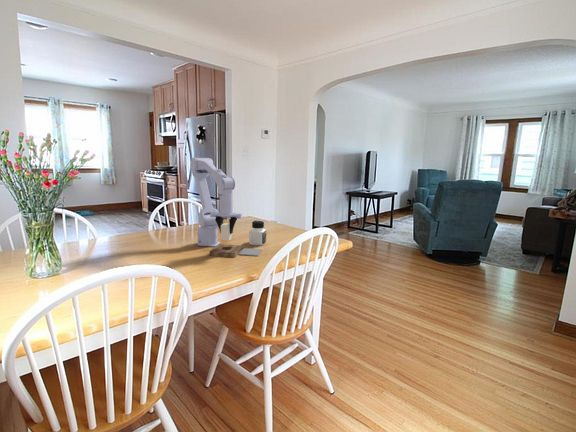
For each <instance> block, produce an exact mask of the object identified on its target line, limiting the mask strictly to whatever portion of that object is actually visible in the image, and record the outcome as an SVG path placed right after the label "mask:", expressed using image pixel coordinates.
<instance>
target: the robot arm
mask: <svg viewBox="0 0 576 432" xmlns="http://www.w3.org/2000/svg"><path fill="white" fill-rule="evenodd" d="M189 164H190V165H189V166H190V170H191V174H192V177H194V178H195V182H196V186H197V191H198V196H199V199H200V204H201V208H202V209H201V210H200V211H199V212H198V224H199V227H198V229H197V244H196V245H197V246H200V247H212V248H214V247H215V246H217V245H218V244H221V241H218V240H219V239H218V235H219V234H218V233H220V234H221V225H222V224H223V223H224V218H225V219H228V222H229V223H228V224H230V234H232V235H233V233H234V228H235V224H236V223H237V221H238V219H240V220H242V219H243V213H236V212H233V206H234V205H233V190H234V189H235V186H236V182H235V179H234V178H233V177H232V176H227V175H226V174H225V172H223V170H222V169H221V168H220V169H219V168H217V167H216V166H215V165H214V161H213V159H212V158H211V157H192V158H191V159H190V163H189ZM209 176H211V179H212V180H213V182H215V183H216V186H217V192H218V194H219V210H218V209H217V208H215V207H213V203H212V199H211V194H210V190H209V186H208V182H207V177H209ZM218 230H219V232H218Z"/></svg>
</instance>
